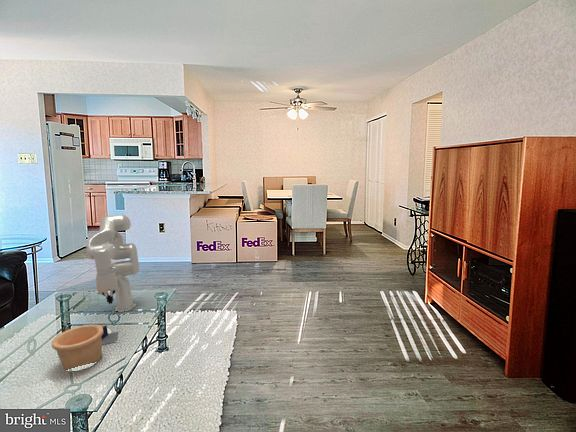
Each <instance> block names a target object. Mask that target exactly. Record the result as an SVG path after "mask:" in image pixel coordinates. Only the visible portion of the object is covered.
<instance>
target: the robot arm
mask: <svg viewBox="0 0 576 432" xmlns="http://www.w3.org/2000/svg"><path fill="white" fill-rule="evenodd" d="M131 224H132V223H131V219H130V218H129V216H127V215H125V214H114V215H107V216H104V217H102V218H101V220H100V222H99V231H98V232H97V233H96V234H94V235H93V236H92V237H91V238H90V239H89V241H88V242H87V243H88V244H87V247H86V256H87V258H88V259H89V260H92V261H93V260H94V262H95V269H96V274H95V282H96V290H97V295H99V296H100V295H101V296H104V297H105V298H106V302H107V303H108V305H110V304H113V302H114V296H115V301H116V302H115V303H116V306H115V308H114V312H116V311H118V312H117V313H123V312H124V311H125V312H129V311H132V310H133V309H135V308H136V306H137V305H136V303H135V302H133V297H132V296H133V295H132V291H131V284H130V280H129V279H128V278H127V277H126V276H132V275H137V274H138V273H139V272H140V263H139V257H138V249H137V246H136V244H134V243H133V242H129V243H124V238H123V236H122V234H121V233H119V232H122V231H127V230H129V229H131V226H132V225H131ZM126 259H129V260H126ZM114 260H115V261H116V262H112V261H114ZM117 260H121V261H117ZM134 307H135V308H134ZM125 312H124V313H125Z"/></svg>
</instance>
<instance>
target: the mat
mask: <svg viewBox="0 0 576 432" xmlns="http://www.w3.org/2000/svg"><path fill="white" fill-rule="evenodd" d="M117 336H119V331H115V332H110V333H109V332H108V335H107V336H106V337H105V338H104V339H102V346H106V345H109V344H114V342H115V341H116V340H117V341H118V337H117ZM115 343H116V342H115Z"/></svg>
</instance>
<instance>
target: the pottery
mask: <svg viewBox="0 0 576 432" xmlns="http://www.w3.org/2000/svg"><path fill="white" fill-rule="evenodd" d="M100 325H101V324H95V323H94V324H84V325H79V326H76V327H72V328H69V329H68V330H65V331H63V332H60V333H59V334H58V335H57V336H55V337H54V338H53V340H52V341H51V347H52V349H54V350H55V351H56V353H57V355H58V359H59V360H60V363H61V366H62V368H63V370H64V369H65V370H68V369H71V368H75V367H78V366H82V365H86V364H90V363H95V362H98V361H99V360H100V359H101V360H102V358H103V356H102V355H103V354H102V352H103V351H102V347H103V345H102V339H101V336H102V335H103V333H104V332H103V327H101V326H100ZM101 357H102V358H101ZM101 360H100V361H101ZM100 361H99V362H100ZM99 362H98V363H99ZM65 370H64V371H65Z"/></svg>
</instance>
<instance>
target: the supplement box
mask: <svg viewBox="0 0 576 432" xmlns="http://www.w3.org/2000/svg"><path fill="white" fill-rule="evenodd" d="M99 325H100V326H101V327H103V332H104V333H103V335H102V336H101V339H104V338H105V337H106V336H107V335H108V334H109V332H108V327H107V325H103V324H102V325H101V324H99Z"/></svg>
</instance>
